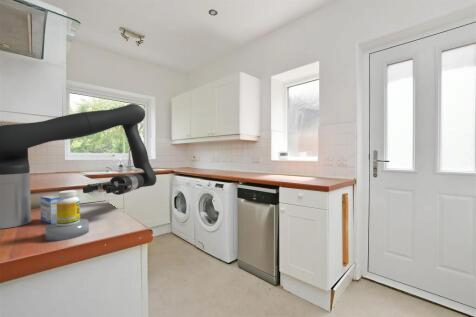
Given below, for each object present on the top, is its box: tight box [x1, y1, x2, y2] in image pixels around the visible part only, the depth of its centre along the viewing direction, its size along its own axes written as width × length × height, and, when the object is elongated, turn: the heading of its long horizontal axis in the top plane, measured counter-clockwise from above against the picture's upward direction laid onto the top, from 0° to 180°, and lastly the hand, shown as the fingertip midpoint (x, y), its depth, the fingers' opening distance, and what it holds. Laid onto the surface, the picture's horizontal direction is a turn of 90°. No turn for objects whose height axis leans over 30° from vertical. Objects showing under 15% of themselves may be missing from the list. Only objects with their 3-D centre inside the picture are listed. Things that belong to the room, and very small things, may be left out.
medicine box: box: [40, 195, 61, 224], centre depth 78 cm, size 8×4×9 cm, turn 62°
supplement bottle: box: [56, 189, 81, 226], centre depth 64 cm, size 5×5×10 cm
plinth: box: [44, 218, 90, 242], centre depth 64 cm, size 10×10×3 cm
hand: (95, 190), depth 75 cm, fingers open, 8 cm apart
